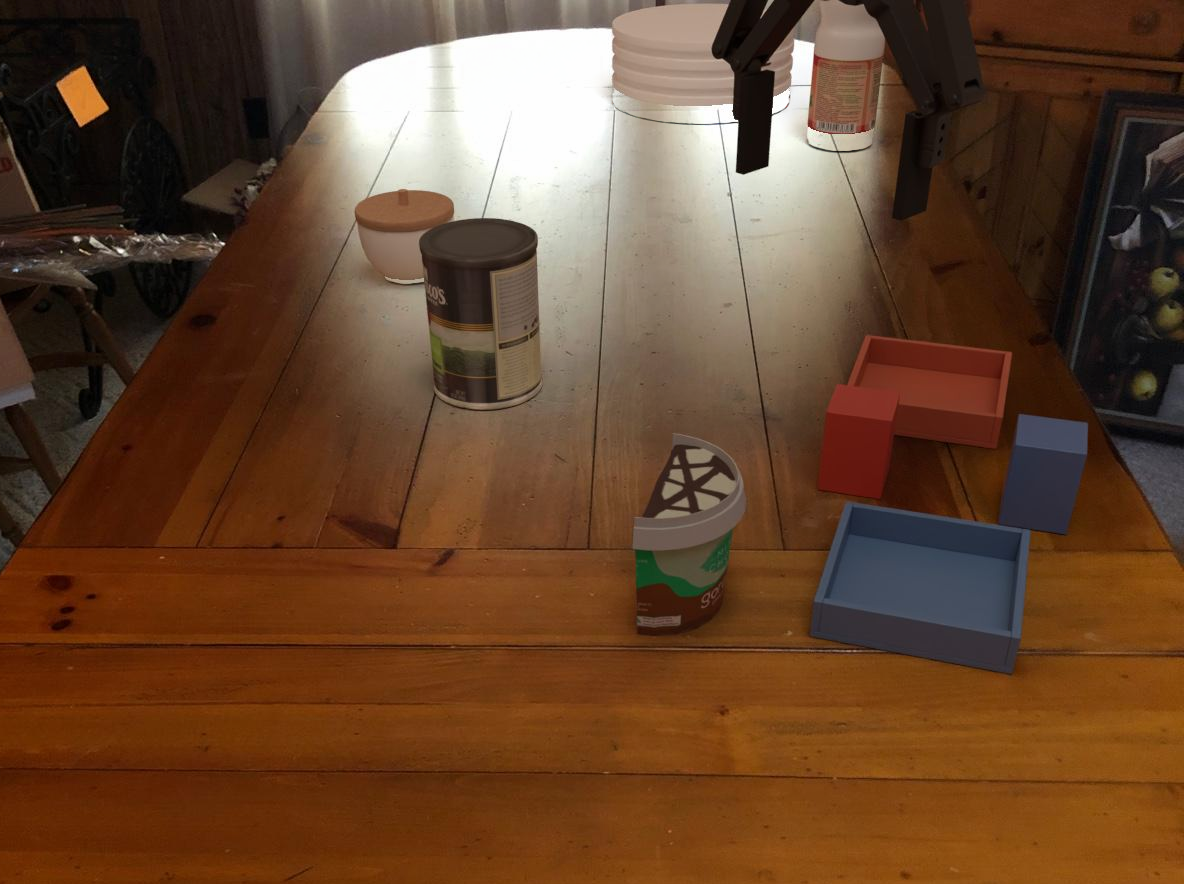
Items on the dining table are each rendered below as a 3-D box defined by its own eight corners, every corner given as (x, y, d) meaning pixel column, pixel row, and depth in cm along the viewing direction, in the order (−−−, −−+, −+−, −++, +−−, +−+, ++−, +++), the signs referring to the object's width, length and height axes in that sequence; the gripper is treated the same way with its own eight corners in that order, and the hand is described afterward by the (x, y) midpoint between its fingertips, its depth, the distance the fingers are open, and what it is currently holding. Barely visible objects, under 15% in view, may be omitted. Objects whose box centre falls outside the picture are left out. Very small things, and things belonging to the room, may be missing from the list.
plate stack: (824, 95, 194) (831, 17, 187) (718, 135, 178) (722, 51, 171) (685, 70, 209) (687, -4, 203) (576, 104, 193) (574, 25, 186)
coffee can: (443, 417, 109) (427, 265, 101) (426, 369, 117) (411, 224, 109) (555, 402, 111) (549, 251, 102) (531, 355, 119) (524, 212, 111)
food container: (721, 661, 81) (730, 535, 75) (631, 646, 82) (632, 521, 76) (752, 559, 90) (762, 439, 84) (671, 547, 92) (674, 429, 86)
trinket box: (345, 272, 137) (333, 189, 132) (425, 250, 143) (417, 168, 137) (395, 301, 130) (385, 214, 125) (478, 276, 136) (471, 191, 130)
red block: (889, 468, 100) (900, 391, 96) (880, 499, 96) (892, 420, 92) (828, 460, 102) (837, 383, 97) (817, 489, 98) (826, 411, 94)
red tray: (1006, 381, 112) (1012, 351, 111) (996, 449, 102) (1002, 417, 101) (862, 363, 116) (865, 334, 114) (838, 427, 106) (842, 396, 104)
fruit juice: (828, 156, 168) (850, -73, 152) (793, 139, 175) (811, -82, 159) (886, 148, 171) (914, -79, 155) (849, 131, 178) (872, -87, 162)
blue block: (1068, 501, 96) (1088, 422, 92) (1066, 535, 92) (1087, 454, 88) (1001, 492, 97) (1018, 413, 93) (997, 524, 93) (1015, 444, 89)
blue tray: (1022, 564, 89) (1030, 529, 87) (1012, 674, 79) (1021, 638, 77) (841, 534, 93) (845, 500, 91) (809, 636, 83) (813, 601, 81)
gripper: (665, -179, 77) (659, 164, 89) (1016, -158, 62) (949, 251, 74) (745, -187, 81) (728, 142, 93) (1093, -169, 66) (1017, 221, 78)
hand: (826, 191), depth 84 cm, fingers open, 13 cm apart
